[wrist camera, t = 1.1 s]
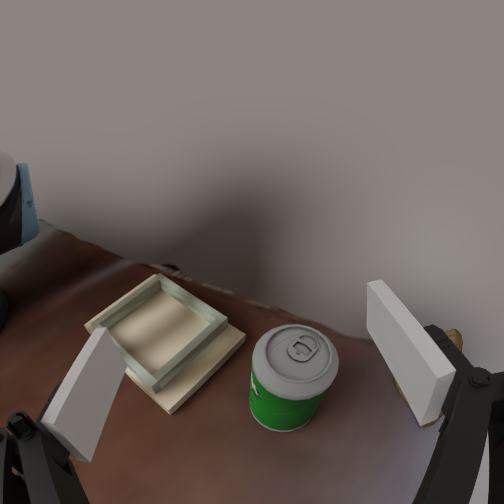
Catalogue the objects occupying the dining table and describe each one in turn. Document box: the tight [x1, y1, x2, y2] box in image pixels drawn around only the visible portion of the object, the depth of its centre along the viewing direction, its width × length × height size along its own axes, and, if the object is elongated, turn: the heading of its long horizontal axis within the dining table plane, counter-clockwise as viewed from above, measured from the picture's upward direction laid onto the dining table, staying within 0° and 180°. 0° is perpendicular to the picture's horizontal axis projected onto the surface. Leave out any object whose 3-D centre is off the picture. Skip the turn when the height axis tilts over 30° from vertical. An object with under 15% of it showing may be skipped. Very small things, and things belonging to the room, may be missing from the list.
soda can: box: [249, 324, 339, 432], centre depth 27 cm, size 8×8×12 cm
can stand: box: [84, 273, 246, 415], centre depth 37 cm, size 18×14×4 cm
